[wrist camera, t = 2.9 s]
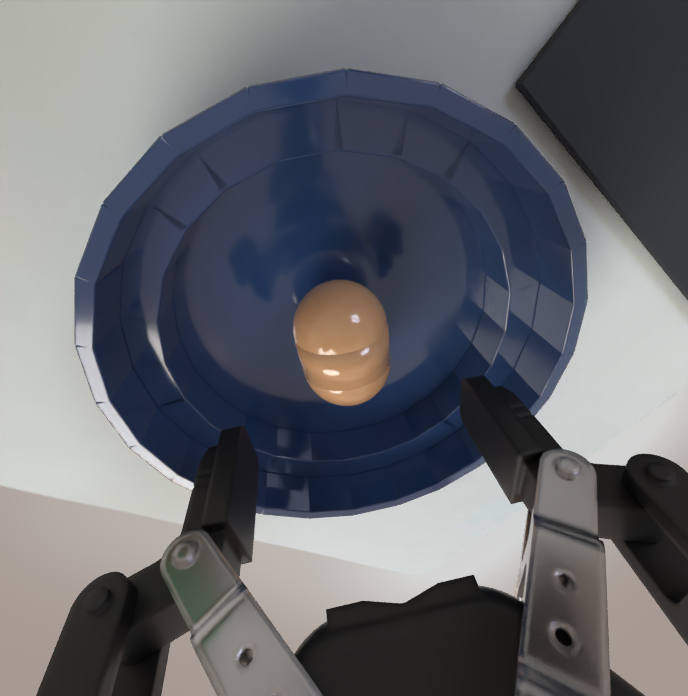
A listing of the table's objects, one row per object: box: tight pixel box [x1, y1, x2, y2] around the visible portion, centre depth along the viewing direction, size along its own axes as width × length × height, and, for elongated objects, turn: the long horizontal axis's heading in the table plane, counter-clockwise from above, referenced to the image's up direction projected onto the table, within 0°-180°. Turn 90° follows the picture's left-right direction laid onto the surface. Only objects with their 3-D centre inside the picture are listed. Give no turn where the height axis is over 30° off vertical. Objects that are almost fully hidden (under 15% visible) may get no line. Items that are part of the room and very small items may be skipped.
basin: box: [75, 69, 588, 518], centre depth 17 cm, size 20×20×5 cm
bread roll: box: [292, 279, 391, 406], centre depth 17 cm, size 6×4×4 cm
